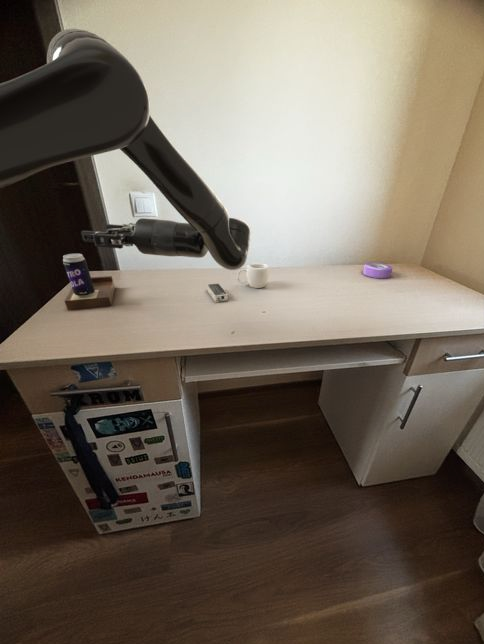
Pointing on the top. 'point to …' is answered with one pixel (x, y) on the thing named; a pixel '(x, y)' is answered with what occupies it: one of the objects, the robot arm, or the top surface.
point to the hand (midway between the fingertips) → (96, 232)
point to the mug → (256, 275)
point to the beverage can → (78, 275)
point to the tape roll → (377, 270)
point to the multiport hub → (217, 292)
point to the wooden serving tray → (98, 299)
